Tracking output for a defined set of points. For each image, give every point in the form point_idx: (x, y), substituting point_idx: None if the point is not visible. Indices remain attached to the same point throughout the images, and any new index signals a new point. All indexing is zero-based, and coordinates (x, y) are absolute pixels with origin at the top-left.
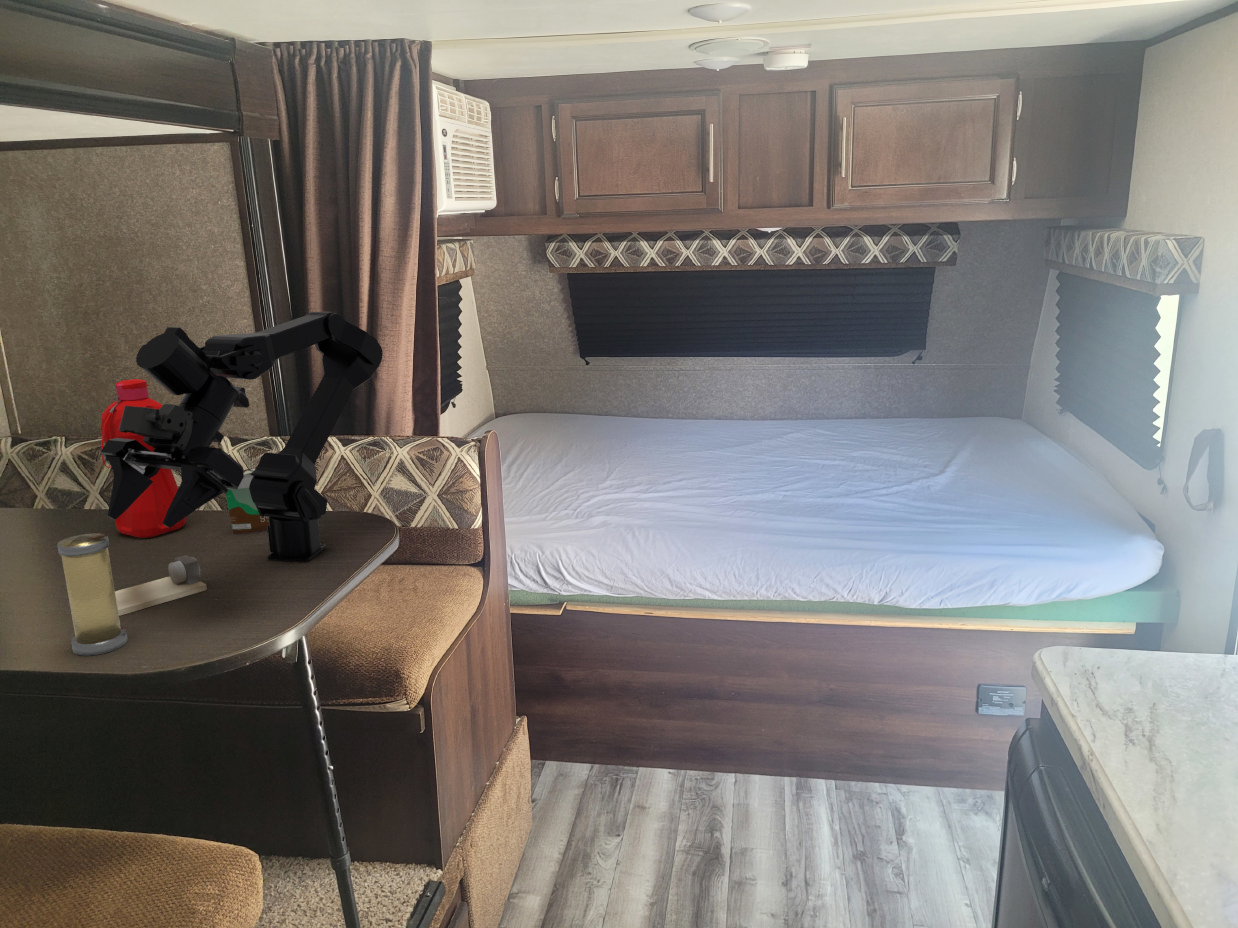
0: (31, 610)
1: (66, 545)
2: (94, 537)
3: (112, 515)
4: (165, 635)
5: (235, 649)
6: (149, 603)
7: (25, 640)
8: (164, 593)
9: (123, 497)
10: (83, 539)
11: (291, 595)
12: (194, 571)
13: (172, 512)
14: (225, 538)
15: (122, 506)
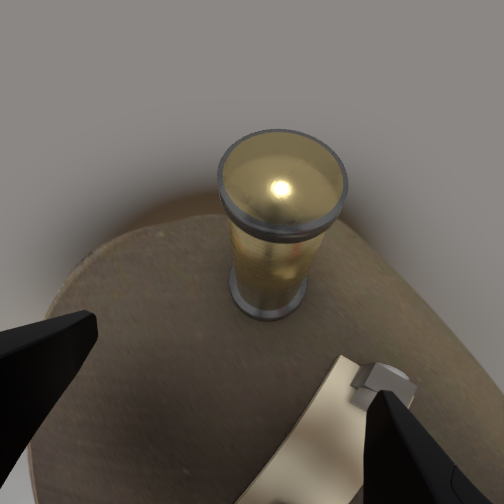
0: (458, 371)
1: (294, 139)
2: (269, 196)
3: (376, 401)
4: (185, 327)
5: (72, 288)
6: (290, 433)
7: (388, 284)
8: (284, 467)
9: (390, 477)
10: (288, 178)
11: (76, 473)
12: None
13: (46, 321)
14: None
15: (374, 454)
